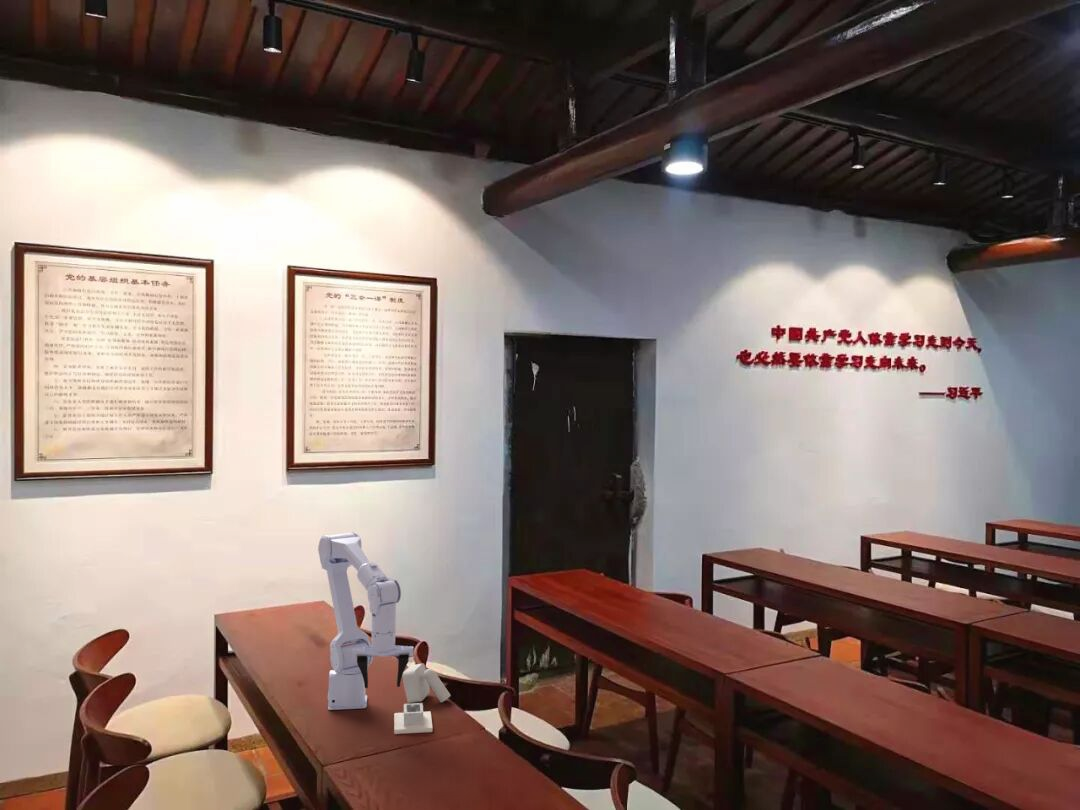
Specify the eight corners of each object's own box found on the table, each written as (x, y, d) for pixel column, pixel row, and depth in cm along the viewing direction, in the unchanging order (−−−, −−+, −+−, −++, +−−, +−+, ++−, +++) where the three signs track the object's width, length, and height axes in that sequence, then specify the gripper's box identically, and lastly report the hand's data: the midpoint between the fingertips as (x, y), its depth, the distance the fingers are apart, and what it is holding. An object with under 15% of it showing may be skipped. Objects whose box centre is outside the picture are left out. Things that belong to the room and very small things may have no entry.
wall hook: (446, 706, 208) (438, 667, 209) (409, 711, 210) (401, 673, 211) (455, 694, 216) (448, 657, 216) (420, 700, 218) (412, 663, 218)
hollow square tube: (423, 724, 195) (423, 712, 195) (403, 725, 194) (403, 713, 194) (422, 715, 201) (422, 703, 201) (403, 715, 200) (403, 703, 200)
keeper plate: (394, 733, 192) (394, 715, 192) (394, 717, 202) (394, 699, 202) (432, 731, 194) (432, 713, 194) (430, 715, 204) (430, 697, 204)
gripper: (352, 636, 192) (351, 693, 192) (414, 634, 194) (412, 690, 195) (353, 627, 199) (352, 682, 199) (413, 626, 201) (412, 680, 202)
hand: (382, 686), depth 197 cm, fingers open, 7 cm apart
